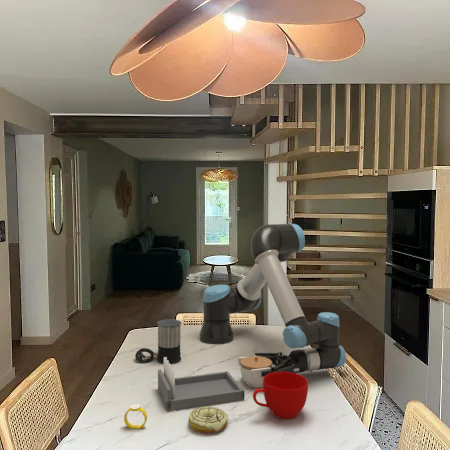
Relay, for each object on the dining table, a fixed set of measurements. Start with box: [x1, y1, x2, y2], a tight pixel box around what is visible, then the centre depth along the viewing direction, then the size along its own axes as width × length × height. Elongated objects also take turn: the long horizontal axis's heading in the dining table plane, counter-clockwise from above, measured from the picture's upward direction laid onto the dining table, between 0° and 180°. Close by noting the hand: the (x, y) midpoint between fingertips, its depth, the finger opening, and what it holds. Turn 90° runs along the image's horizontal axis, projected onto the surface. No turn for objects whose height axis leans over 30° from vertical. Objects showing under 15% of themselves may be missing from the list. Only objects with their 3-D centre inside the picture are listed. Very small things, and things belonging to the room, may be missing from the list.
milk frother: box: [134, 318, 182, 365], centre depth 169 cm, size 14×16×15 cm
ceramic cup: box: [252, 372, 309, 420], centre depth 126 cm, size 13×17×10 cm
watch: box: [123, 403, 148, 430], centre depth 119 cm, size 6×3×6 cm, turn 86°
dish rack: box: [157, 357, 246, 412], centre depth 140 cm, size 16×24×11 cm, turn 109°
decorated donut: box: [187, 406, 229, 435], centre depth 121 cm, size 10×11×4 cm
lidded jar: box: [239, 355, 273, 389], centre depth 148 cm, size 11×11×9 cm
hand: (244, 367), depth 147 cm, fingers closed on lidded jar, 11 cm apart
